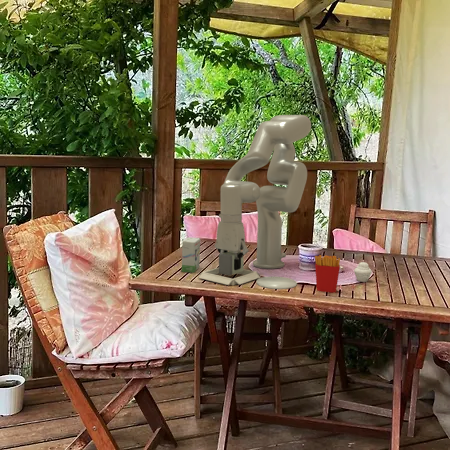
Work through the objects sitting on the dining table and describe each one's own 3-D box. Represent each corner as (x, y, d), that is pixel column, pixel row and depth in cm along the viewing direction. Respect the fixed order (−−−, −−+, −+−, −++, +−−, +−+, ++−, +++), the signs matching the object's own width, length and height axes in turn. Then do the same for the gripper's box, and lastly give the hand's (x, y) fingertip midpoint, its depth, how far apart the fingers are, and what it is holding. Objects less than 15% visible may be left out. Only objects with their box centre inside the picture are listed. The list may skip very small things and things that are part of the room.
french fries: (339, 290, 179) (340, 255, 177) (338, 293, 175) (339, 257, 173) (313, 287, 181) (315, 253, 179) (312, 290, 178) (313, 255, 176)
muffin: (359, 283, 187) (360, 264, 186) (350, 279, 193) (351, 260, 192) (374, 282, 189) (375, 263, 188) (365, 278, 195) (366, 259, 194)
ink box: (187, 266, 207) (187, 236, 205) (200, 267, 206) (200, 237, 204) (181, 272, 199) (181, 241, 197) (194, 273, 198) (194, 241, 196)
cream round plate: (271, 276, 195) (271, 274, 195) (304, 283, 187) (304, 281, 187) (248, 283, 185) (248, 282, 184) (282, 291, 176) (282, 289, 176)
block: (232, 268, 197) (232, 250, 196) (243, 270, 194) (243, 252, 193) (218, 273, 191) (218, 254, 190) (229, 275, 188) (229, 256, 187)
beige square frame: (225, 268, 205) (225, 263, 205) (265, 277, 194) (265, 271, 193) (193, 277, 191) (193, 272, 191) (234, 287, 179) (234, 281, 179)
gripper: (206, 217, 191) (206, 266, 195) (244, 222, 181) (243, 274, 184) (219, 214, 197) (219, 262, 201) (256, 219, 187) (256, 269, 190)
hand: (231, 267), depth 192 cm, fingers closed on block, 5 cm apart
